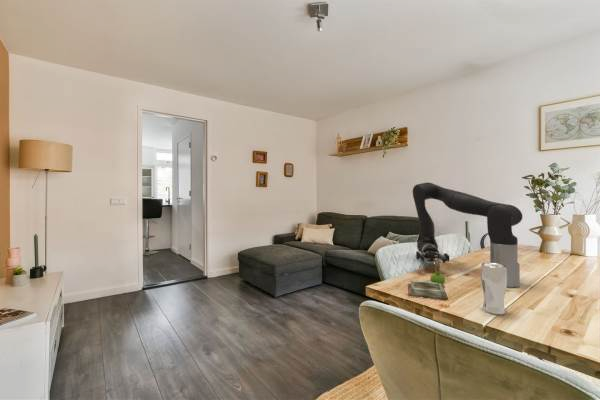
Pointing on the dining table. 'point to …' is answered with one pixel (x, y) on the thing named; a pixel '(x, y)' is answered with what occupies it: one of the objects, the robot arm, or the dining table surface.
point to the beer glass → (494, 287)
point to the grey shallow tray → (427, 290)
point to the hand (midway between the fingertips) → (433, 259)
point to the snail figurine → (437, 274)
